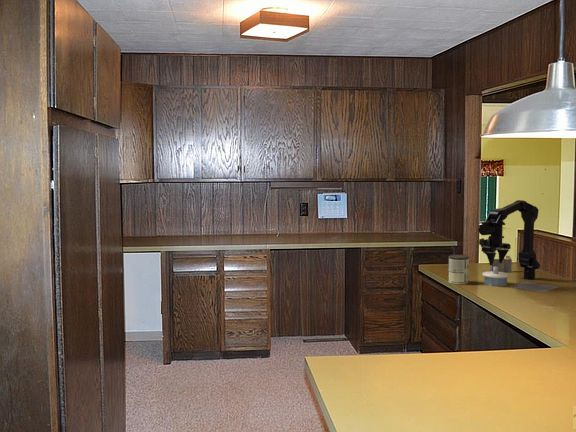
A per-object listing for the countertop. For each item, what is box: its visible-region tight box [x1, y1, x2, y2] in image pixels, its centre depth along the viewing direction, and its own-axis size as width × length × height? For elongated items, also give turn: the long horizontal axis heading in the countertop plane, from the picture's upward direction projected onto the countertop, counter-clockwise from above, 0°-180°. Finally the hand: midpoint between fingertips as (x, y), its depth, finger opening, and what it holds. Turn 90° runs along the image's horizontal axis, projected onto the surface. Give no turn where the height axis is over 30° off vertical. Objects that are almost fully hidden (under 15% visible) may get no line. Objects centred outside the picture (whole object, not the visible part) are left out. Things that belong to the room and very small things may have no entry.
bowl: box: [483, 276, 508, 287], centre depth 307 cm, size 11×11×5 cm
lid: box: [482, 267, 510, 279], centre depth 306 cm, size 13×13×4 cm
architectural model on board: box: [489, 255, 513, 273], centre depth 342 cm, size 11×3×10 cm, turn 91°
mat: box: [508, 281, 560, 293], centre depth 299 cm, size 18×18×1 cm
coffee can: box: [448, 254, 470, 285], centre depth 314 cm, size 10×10×14 cm
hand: (495, 264), depth 306 cm, fingers open, 9 cm apart
